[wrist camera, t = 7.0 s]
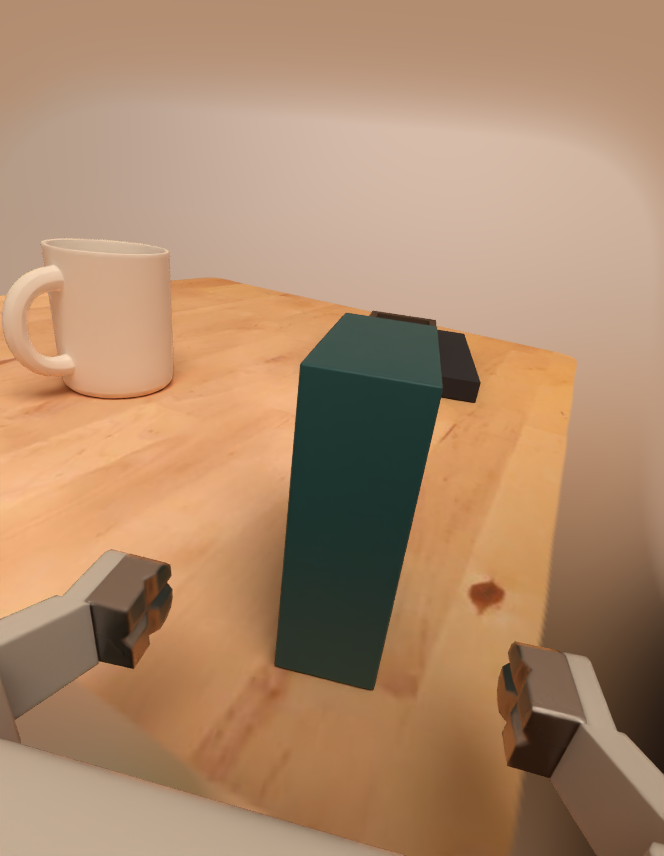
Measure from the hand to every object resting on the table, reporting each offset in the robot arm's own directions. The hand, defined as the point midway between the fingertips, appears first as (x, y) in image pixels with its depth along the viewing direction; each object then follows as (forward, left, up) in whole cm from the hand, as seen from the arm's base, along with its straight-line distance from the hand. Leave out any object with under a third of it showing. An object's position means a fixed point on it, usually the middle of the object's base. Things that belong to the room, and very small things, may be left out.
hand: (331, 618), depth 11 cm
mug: (+22, -22, -6) cm, 32 cm away
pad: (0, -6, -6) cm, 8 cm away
